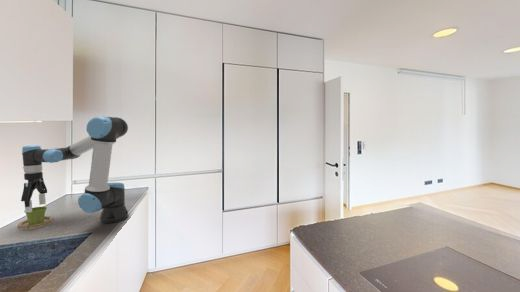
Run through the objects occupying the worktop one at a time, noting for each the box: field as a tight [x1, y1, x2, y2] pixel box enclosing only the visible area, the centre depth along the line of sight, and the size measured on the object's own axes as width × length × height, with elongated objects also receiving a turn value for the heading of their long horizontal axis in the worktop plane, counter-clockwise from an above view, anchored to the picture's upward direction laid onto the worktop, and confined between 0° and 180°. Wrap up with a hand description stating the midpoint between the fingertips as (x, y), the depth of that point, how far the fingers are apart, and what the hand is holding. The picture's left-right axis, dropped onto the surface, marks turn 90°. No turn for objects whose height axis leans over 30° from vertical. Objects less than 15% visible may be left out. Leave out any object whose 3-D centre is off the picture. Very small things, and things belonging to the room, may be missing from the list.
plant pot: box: [24, 206, 48, 225], centre depth 130 cm, size 9×9×9 cm
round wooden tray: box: [17, 215, 54, 231], centre depth 131 cm, size 14×14×2 cm
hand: (36, 207), depth 130 cm, fingers open, 13 cm apart
